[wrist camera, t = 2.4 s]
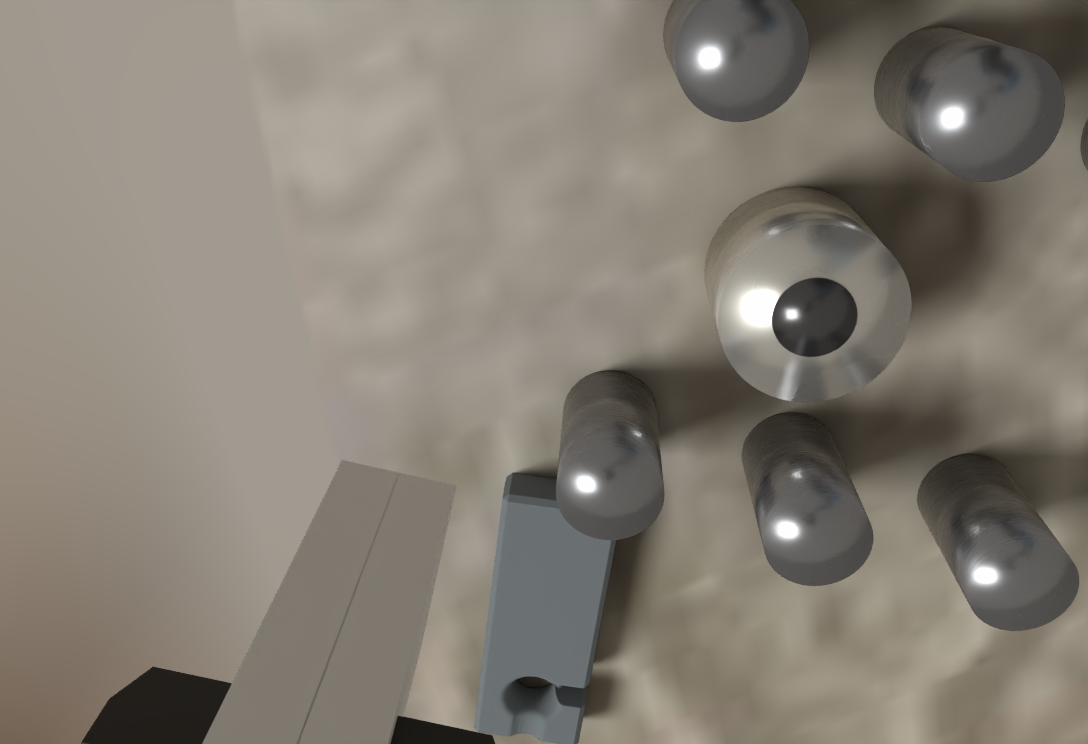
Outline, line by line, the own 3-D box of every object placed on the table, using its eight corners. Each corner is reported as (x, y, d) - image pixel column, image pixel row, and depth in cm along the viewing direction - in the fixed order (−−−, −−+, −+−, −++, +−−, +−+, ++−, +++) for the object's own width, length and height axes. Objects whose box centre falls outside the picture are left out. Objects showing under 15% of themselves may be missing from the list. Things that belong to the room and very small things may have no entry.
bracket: (622, 481, 33) (622, 513, 31) (580, 711, 38) (578, 751, 36) (507, 464, 33) (501, 495, 31) (479, 696, 38) (472, 735, 36)
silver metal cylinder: (733, 168, 28) (752, 206, 24) (899, 208, 28) (943, 251, 25) (684, 324, 30) (695, 380, 27) (839, 360, 30) (871, 421, 27)
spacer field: (680, -40, 26) (696, -32, 21) (1216, 93, 26) (1342, 128, 22) (554, 442, 32) (545, 527, 28) (989, 541, 33) (1050, 640, 28)
